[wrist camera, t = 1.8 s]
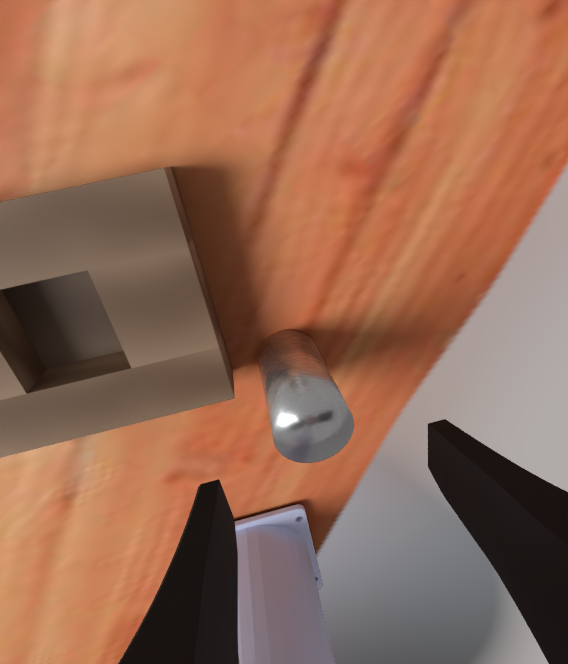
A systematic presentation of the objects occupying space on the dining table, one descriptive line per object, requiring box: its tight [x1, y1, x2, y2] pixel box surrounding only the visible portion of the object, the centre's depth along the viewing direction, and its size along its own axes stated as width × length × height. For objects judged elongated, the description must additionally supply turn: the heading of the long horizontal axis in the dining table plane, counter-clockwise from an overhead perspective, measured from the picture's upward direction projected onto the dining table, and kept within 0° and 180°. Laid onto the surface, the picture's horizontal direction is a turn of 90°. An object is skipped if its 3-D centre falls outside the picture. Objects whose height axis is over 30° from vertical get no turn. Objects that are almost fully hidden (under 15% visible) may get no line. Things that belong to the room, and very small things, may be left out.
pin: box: [258, 330, 354, 463], centre depth 17 cm, size 3×3×6 cm
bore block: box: [0, 167, 235, 458], centre depth 15 cm, size 10×12×2 cm
